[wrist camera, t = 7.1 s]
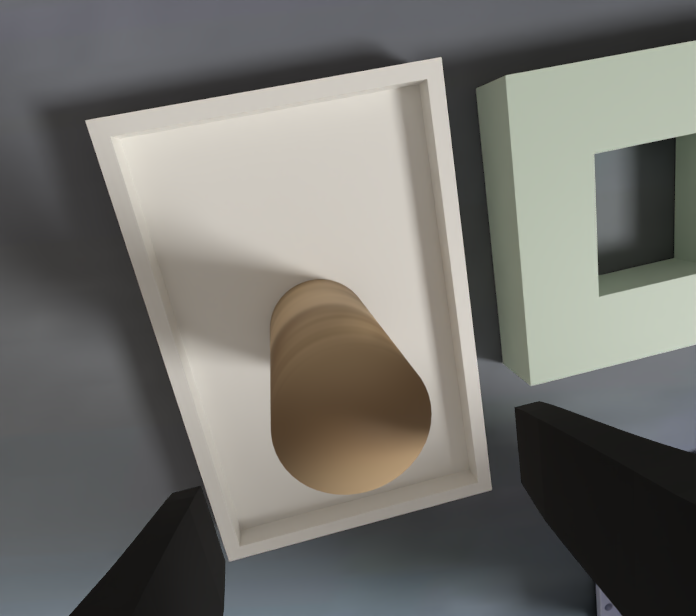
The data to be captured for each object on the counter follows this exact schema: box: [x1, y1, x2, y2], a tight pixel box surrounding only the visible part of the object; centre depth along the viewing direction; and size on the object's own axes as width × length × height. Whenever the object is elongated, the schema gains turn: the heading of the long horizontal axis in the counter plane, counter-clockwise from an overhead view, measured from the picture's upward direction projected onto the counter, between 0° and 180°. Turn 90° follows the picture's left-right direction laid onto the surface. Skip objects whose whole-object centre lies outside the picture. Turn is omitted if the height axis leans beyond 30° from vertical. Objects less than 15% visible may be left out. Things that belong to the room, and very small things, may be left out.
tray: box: [85, 57, 492, 562], centre depth 19 cm, size 18×12×2 cm, turn 11°
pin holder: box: [476, 40, 696, 386], centre depth 20 cm, size 12×12×2 cm
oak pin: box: [270, 279, 432, 495], centre depth 15 cm, size 4×4×8 cm
